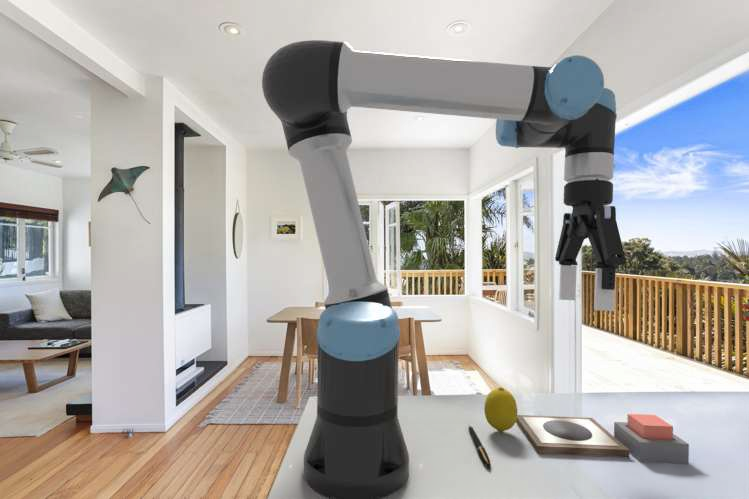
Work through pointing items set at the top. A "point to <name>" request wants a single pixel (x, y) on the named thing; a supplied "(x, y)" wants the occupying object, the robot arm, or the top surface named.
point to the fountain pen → (480, 448)
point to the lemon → (500, 409)
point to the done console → (652, 446)
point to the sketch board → (570, 436)
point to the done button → (650, 427)
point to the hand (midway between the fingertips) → (583, 304)
